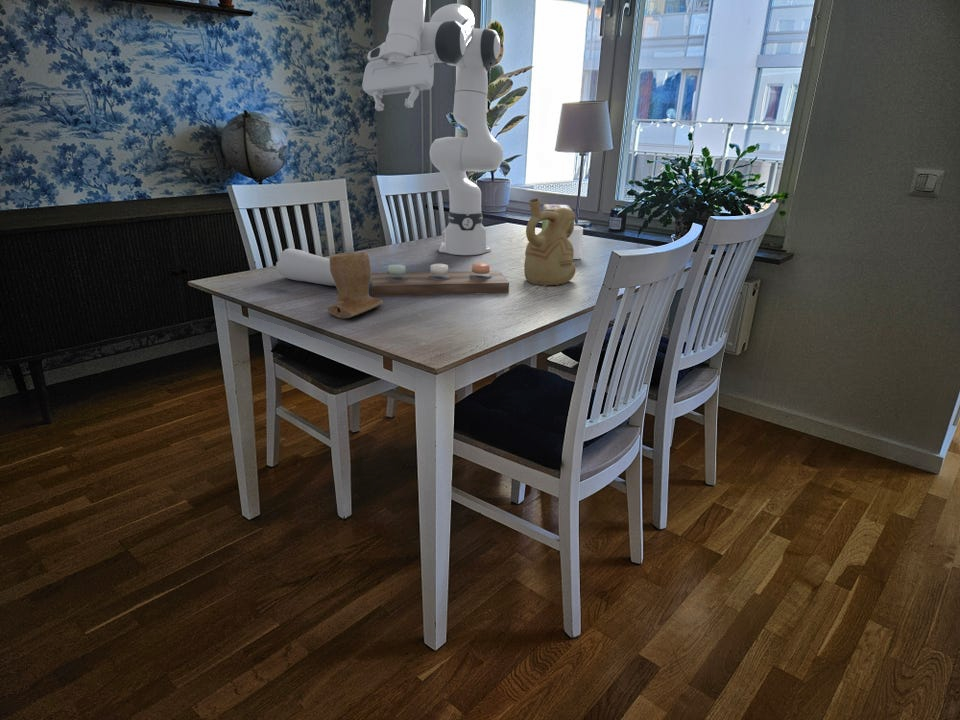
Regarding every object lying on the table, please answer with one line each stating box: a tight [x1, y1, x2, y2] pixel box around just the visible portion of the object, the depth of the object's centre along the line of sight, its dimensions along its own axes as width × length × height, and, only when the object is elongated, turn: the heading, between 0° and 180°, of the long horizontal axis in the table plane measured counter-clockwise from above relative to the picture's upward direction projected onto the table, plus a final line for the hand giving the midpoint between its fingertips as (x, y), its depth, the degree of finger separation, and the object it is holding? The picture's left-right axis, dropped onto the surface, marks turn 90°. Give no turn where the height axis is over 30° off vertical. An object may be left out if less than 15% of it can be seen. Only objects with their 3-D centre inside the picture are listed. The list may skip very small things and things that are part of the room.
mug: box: [567, 225, 584, 260], centre depth 216 cm, size 9×12×11 cm
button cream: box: [430, 263, 449, 275], centre depth 178 cm, size 5×5×2 cm
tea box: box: [541, 203, 573, 231], centre depth 237 cm, size 15×10×15 cm, turn 178°
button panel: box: [371, 270, 510, 297], centre depth 179 cm, size 14×38×3 cm, turn 99°
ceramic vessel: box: [523, 197, 577, 286], centre depth 185 cm, size 17×20×25 cm
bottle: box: [275, 247, 336, 287], centre depth 179 cm, size 9×9×30 cm
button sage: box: [387, 263, 407, 276], centre depth 176 cm, size 5×5×2 cm
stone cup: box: [326, 251, 384, 319], centre depth 155 cm, size 15×12×15 cm
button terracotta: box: [471, 262, 491, 274], centre depth 180 cm, size 5×5×2 cm
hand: (393, 108), depth 158 cm, fingers open, 8 cm apart
